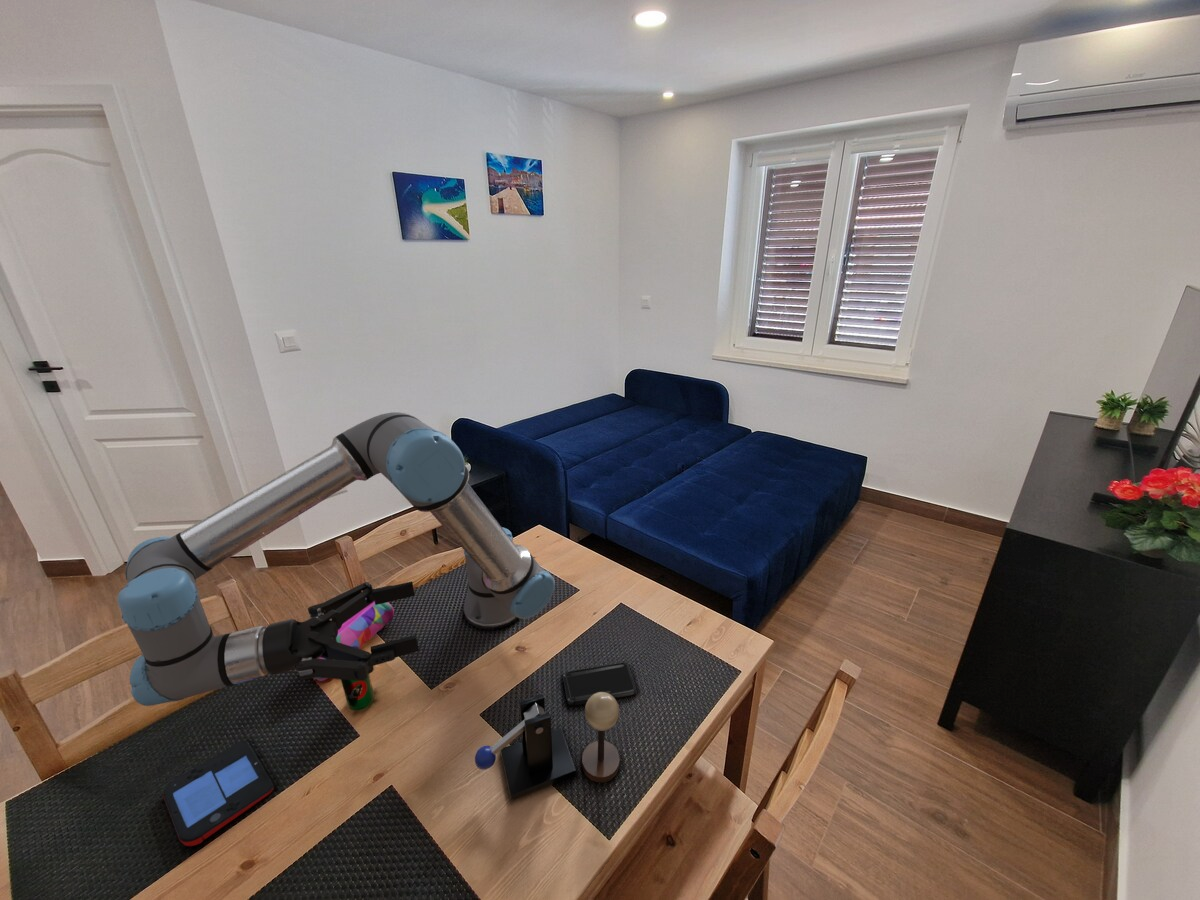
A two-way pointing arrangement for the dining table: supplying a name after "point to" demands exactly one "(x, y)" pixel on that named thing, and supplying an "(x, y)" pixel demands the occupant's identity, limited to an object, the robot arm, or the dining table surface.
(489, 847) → the dining table surface
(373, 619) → the pencil case
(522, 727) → the switch lever
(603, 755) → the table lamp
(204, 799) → the game console
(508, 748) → the switch bracket
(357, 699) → the soda can
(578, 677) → the phone
